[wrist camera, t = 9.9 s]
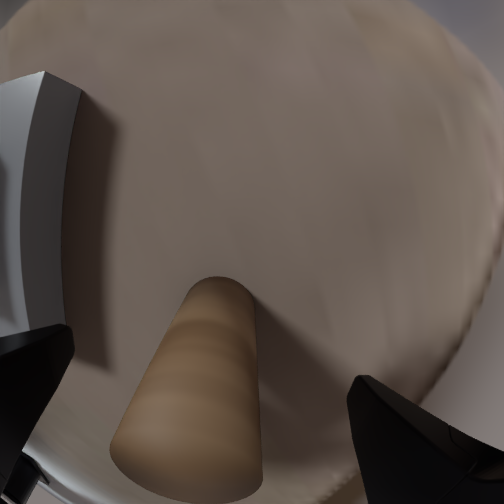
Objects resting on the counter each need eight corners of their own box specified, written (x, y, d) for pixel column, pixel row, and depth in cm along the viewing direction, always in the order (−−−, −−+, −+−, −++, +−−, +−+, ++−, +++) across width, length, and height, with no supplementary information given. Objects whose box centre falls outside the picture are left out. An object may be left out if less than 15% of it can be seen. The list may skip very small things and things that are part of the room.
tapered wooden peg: (248, 344, 12) (248, 509, 4) (182, 333, 12) (121, 485, 4) (260, 282, 11) (279, 444, 4) (187, 270, 11) (96, 408, 4)
